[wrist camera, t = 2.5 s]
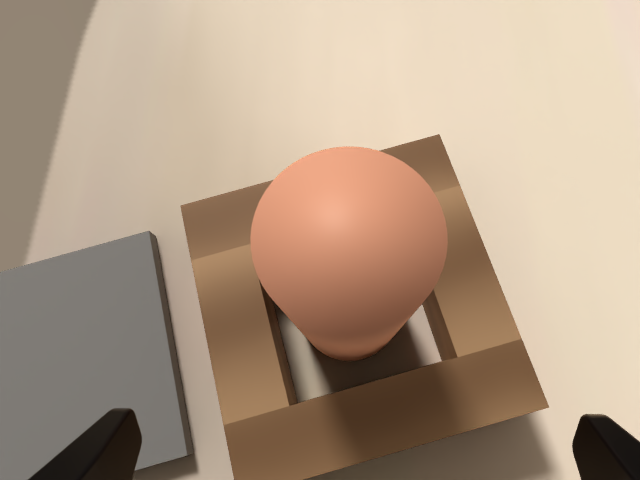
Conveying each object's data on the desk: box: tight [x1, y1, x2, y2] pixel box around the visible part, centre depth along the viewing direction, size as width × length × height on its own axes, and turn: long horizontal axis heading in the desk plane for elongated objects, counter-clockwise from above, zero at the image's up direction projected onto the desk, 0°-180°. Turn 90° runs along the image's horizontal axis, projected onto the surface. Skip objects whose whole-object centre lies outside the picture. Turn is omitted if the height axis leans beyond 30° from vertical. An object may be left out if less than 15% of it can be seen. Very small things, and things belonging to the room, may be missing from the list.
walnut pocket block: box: [181, 135, 549, 480], centre depth 20 cm, size 12×12×3 cm
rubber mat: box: [0, 231, 193, 480], centre depth 21 cm, size 10×10×1 cm
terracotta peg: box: [250, 147, 448, 361], centre depth 16 cm, size 4×4×11 cm
